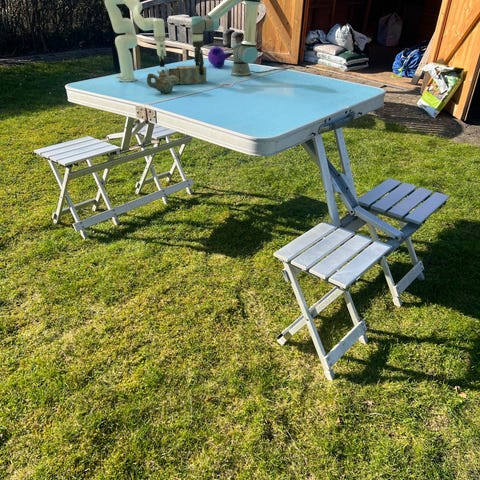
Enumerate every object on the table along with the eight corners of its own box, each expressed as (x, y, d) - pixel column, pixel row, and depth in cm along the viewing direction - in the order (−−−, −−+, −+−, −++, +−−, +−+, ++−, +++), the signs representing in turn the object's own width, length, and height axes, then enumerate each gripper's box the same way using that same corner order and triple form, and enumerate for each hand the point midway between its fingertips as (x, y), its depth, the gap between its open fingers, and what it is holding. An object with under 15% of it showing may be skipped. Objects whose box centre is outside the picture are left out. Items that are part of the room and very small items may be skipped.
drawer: (160, 83, 319) (159, 70, 315) (157, 81, 326) (156, 68, 322) (192, 82, 326) (192, 69, 321) (189, 79, 333) (189, 67, 329)
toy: (218, 69, 373) (208, 68, 396) (237, 62, 376) (226, 61, 399) (212, 50, 365) (203, 50, 388) (232, 42, 368) (221, 43, 392)
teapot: (178, 89, 310) (176, 66, 303) (181, 93, 301) (179, 69, 293) (147, 92, 305) (144, 69, 297) (149, 95, 295) (147, 71, 288)
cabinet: (180, 84, 323) (180, 68, 318) (177, 81, 332) (177, 66, 326) (206, 83, 329) (206, 67, 323) (203, 80, 337) (202, 65, 332)
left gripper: (167, 39, 304) (169, 68, 314) (163, 37, 316) (165, 64, 326) (156, 40, 302) (158, 68, 311) (152, 37, 314) (155, 65, 324)
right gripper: (207, 42, 309) (208, 75, 321) (198, 38, 328) (200, 70, 339) (196, 42, 307) (198, 76, 319) (188, 39, 326) (190, 71, 337)
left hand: (162, 66), depth 319 cm, fingers closed
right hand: (199, 73), depth 329 cm, fingers closed on cabinet, 10 cm apart
